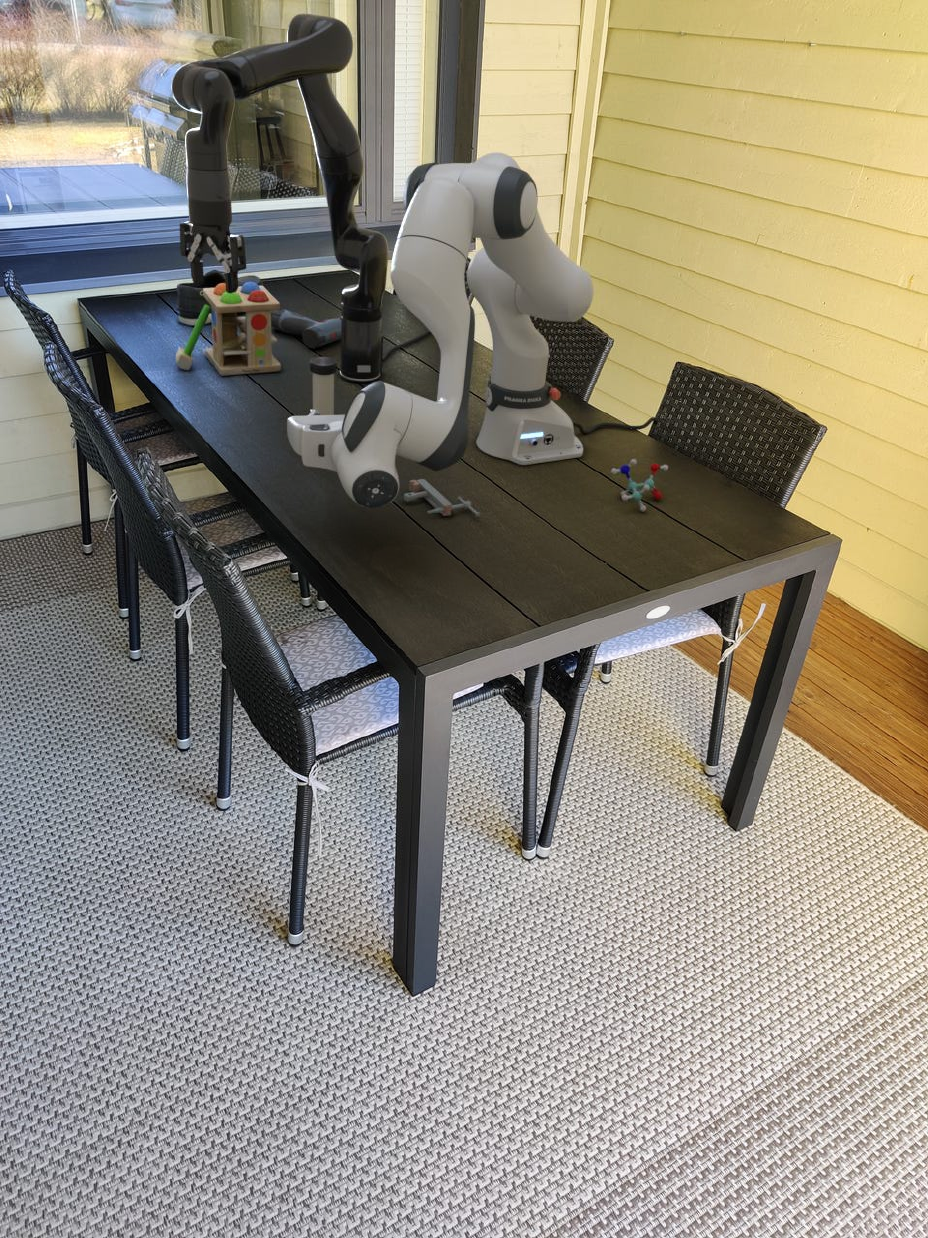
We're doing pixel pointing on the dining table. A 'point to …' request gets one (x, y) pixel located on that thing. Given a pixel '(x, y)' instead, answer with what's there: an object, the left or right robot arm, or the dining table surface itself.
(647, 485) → the molecular model
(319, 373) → the lid
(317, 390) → the white cylindrical bottle
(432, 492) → the clamp
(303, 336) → the power drill
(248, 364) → the pounding bench toy
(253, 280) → the boat shoe
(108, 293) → the dining table surface
